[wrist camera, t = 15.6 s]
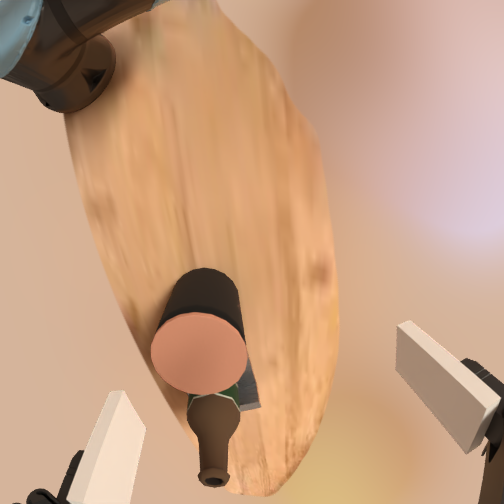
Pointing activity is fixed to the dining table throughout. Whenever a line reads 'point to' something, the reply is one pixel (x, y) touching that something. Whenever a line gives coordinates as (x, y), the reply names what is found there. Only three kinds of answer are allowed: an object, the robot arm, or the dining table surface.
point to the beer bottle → (214, 431)
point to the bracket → (247, 389)
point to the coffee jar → (201, 335)
